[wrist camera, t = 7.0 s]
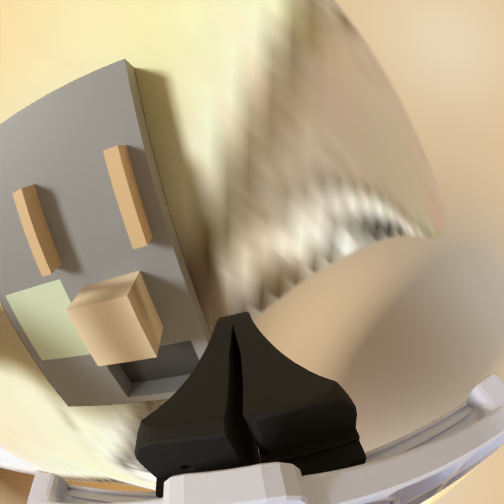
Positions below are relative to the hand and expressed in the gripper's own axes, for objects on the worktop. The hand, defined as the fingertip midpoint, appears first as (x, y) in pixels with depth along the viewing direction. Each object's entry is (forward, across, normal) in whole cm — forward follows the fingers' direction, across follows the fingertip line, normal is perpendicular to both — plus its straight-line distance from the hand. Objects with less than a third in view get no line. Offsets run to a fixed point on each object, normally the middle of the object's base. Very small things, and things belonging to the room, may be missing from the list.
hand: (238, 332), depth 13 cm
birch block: (+5, +7, 0) cm, 8 cm away
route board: (+7, +10, -3) cm, 12 cm away
